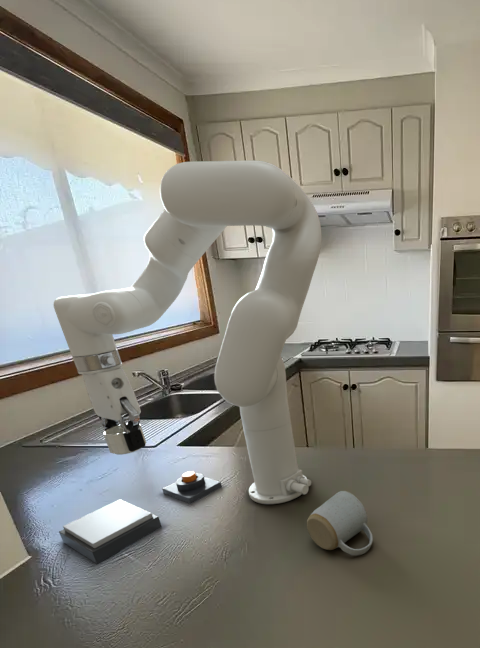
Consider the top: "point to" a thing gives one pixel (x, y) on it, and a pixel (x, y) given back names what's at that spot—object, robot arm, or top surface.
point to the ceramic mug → (339, 523)
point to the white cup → (118, 440)
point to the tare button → (189, 476)
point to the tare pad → (192, 488)
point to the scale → (109, 530)
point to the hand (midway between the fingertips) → (127, 445)
